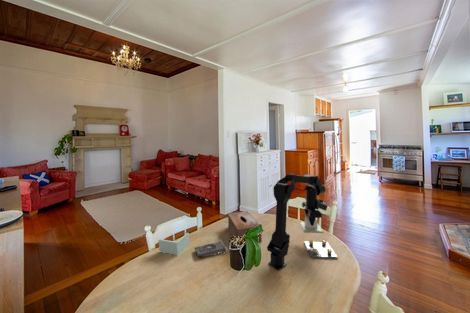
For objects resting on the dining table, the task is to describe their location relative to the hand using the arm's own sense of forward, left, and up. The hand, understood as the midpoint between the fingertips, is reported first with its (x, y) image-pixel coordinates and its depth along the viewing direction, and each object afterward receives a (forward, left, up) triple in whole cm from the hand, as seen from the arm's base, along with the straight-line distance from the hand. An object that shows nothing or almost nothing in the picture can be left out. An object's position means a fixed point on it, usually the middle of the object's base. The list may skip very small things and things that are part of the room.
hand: (311, 223), depth 122 cm
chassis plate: (-2, -7, -12) cm, 14 cm away
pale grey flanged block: (0, 0, -3) cm, 2 cm away
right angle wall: (-63, +47, -13) cm, 79 cm away
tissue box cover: (-21, +35, -13) cm, 43 cm away
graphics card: (-48, +32, -13) cm, 59 cm away
